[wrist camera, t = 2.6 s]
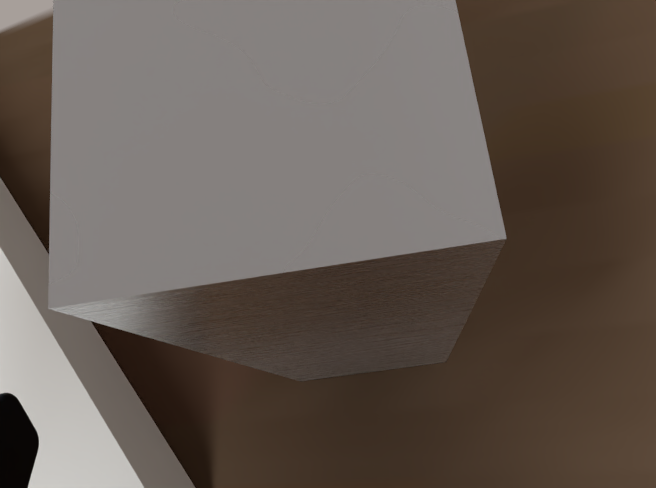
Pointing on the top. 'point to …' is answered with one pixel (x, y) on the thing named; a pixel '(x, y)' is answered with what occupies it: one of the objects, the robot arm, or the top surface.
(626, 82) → the top surface
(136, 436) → the socket plate
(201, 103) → the grey square peg
